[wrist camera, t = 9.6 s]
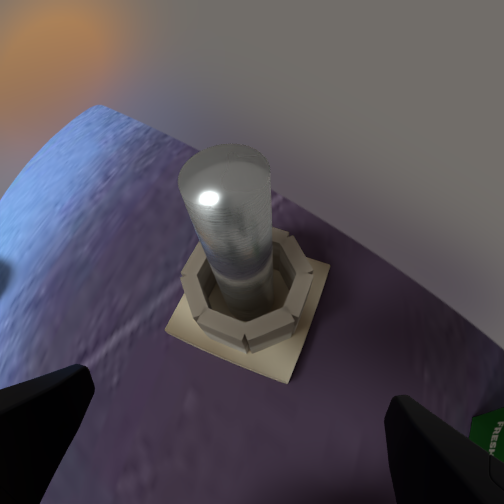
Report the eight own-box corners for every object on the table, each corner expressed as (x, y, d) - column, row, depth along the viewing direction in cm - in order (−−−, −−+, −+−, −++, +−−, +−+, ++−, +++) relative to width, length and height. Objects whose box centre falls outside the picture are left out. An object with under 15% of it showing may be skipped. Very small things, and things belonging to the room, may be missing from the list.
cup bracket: (287, 384, 19) (292, 376, 15) (168, 333, 22) (144, 312, 18) (328, 270, 24) (339, 237, 20) (221, 236, 27) (212, 199, 22)
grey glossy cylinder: (247, 330, 21) (214, 225, 10) (217, 297, 22) (162, 175, 11) (283, 299, 22) (289, 171, 11) (251, 268, 23) (230, 133, 12)
